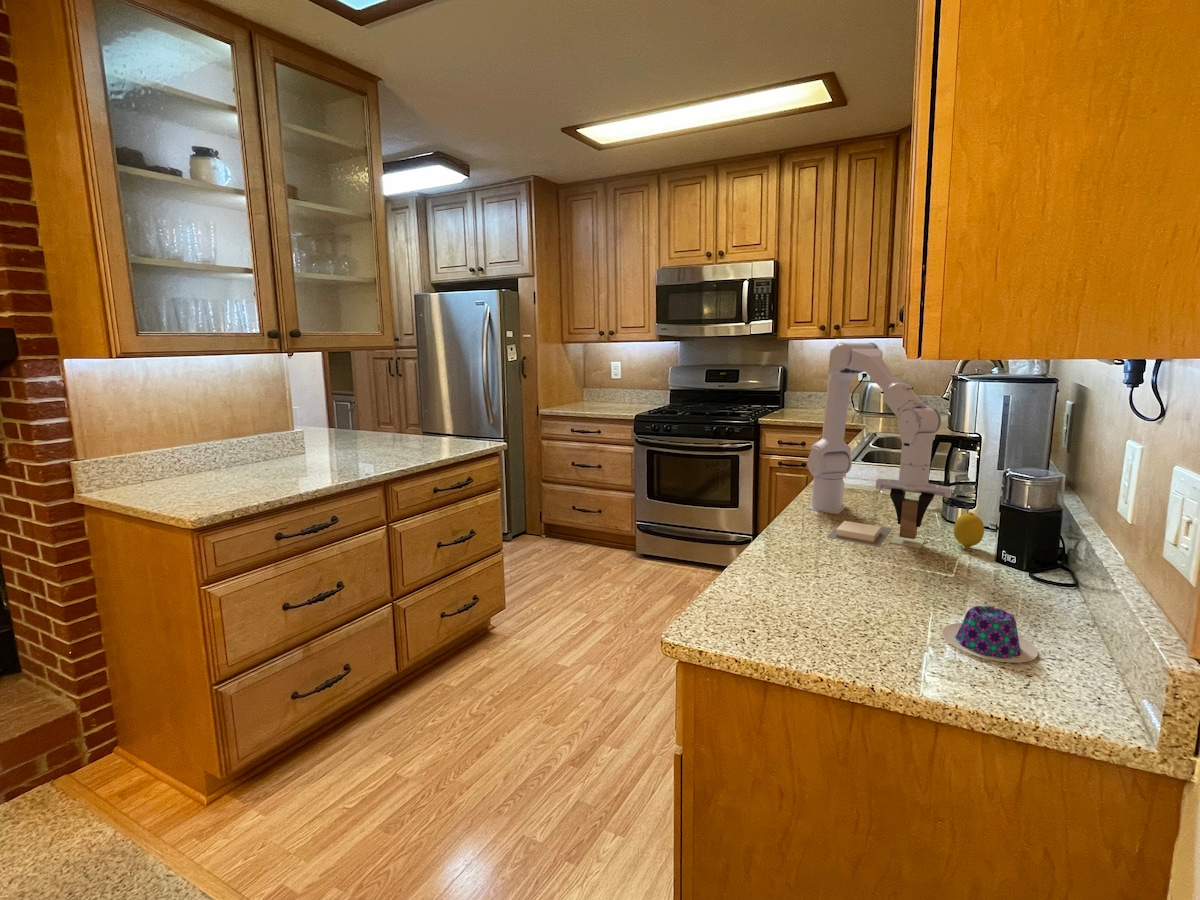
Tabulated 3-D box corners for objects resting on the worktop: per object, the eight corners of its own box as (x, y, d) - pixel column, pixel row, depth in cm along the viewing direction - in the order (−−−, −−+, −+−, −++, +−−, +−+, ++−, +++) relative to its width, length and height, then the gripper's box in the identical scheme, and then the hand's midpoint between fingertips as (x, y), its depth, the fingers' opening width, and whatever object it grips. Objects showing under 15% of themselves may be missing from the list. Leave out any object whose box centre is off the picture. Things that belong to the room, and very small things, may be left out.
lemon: (973, 544, 135) (977, 509, 133) (986, 553, 129) (991, 516, 128) (947, 543, 135) (951, 508, 134) (959, 552, 130) (963, 515, 128)
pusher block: (901, 533, 137) (904, 498, 135) (916, 535, 135) (919, 500, 133) (899, 536, 134) (902, 501, 133) (914, 539, 132) (917, 503, 131)
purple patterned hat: (923, 629, 96) (927, 597, 95) (993, 625, 97) (997, 594, 96) (980, 670, 84) (984, 634, 83) (1059, 664, 86) (1064, 629, 85)
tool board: (894, 537, 139) (894, 534, 139) (924, 542, 136) (924, 539, 136) (889, 544, 134) (890, 542, 134) (920, 549, 131) (920, 547, 131)
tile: (844, 520, 145) (836, 529, 139) (881, 526, 141) (874, 535, 134) (844, 527, 145) (835, 536, 139) (880, 533, 141) (873, 542, 134)
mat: (843, 521, 151) (843, 520, 151) (892, 529, 145) (892, 528, 145) (826, 538, 138) (826, 537, 138) (878, 548, 132) (879, 546, 132)
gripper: (875, 462, 133) (869, 523, 135) (951, 470, 125) (944, 535, 127) (881, 457, 138) (876, 515, 141) (955, 465, 130) (948, 526, 133)
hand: (909, 524), depth 134 cm, fingers closed on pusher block, 3 cm apart
